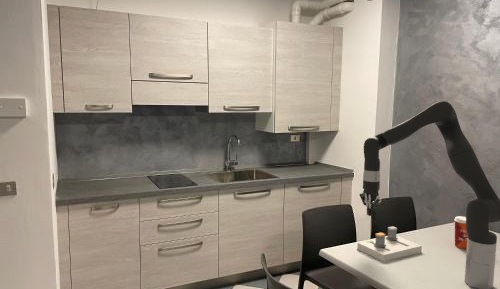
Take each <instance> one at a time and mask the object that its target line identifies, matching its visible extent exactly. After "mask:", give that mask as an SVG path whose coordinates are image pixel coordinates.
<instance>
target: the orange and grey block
mask: <svg viewBox="0 0 500 289" xmlns="http://www.w3.org/2000/svg"><path fill="white" fill-rule="evenodd" d="M385 237H386V233H384V232H378V233H377V232H376V233H375V239H376V243H375V244H374V246H376V247H379V248H380V247H384V246H386V245H385Z"/></svg>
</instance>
